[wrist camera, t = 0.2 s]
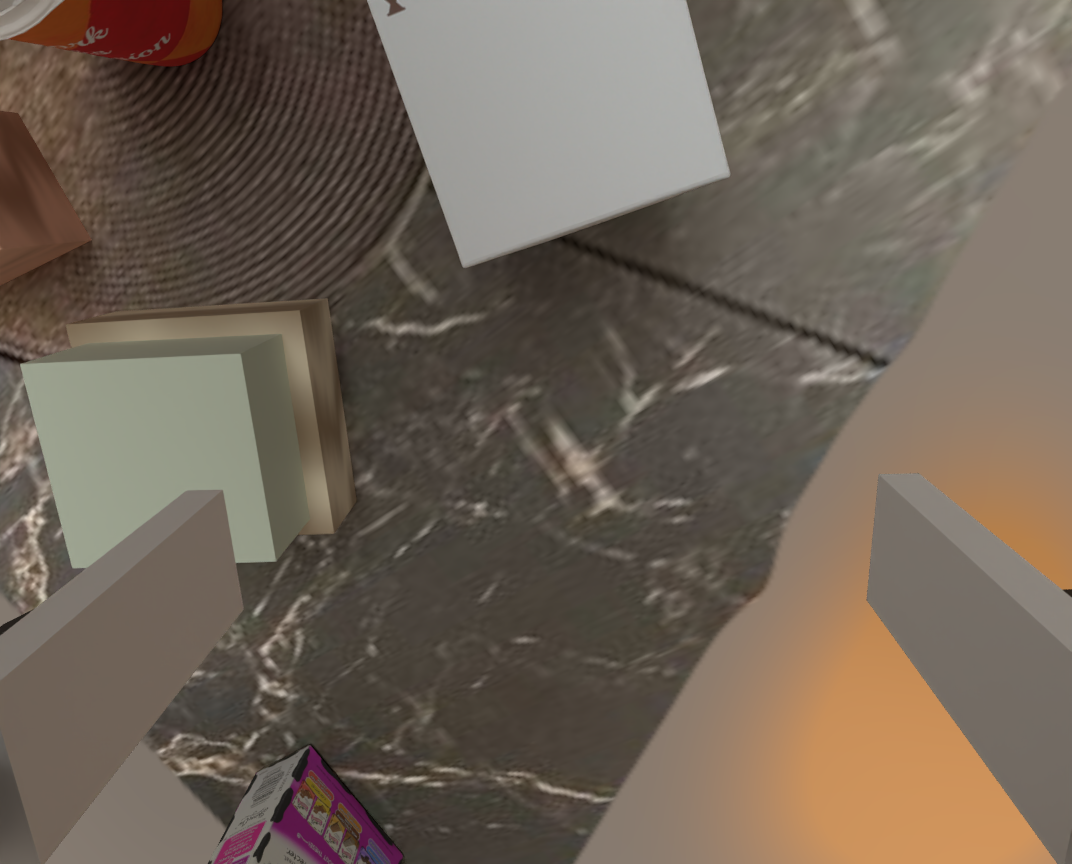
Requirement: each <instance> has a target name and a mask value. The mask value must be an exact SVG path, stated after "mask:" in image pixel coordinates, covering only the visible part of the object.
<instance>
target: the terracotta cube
mask: <svg viewBox="0 0 1072 864" xmlns="http://www.w3.org/2000/svg"><path fill="white" fill-rule="evenodd" d="M89 241H91V238H90V236H89V235H88V233H87V231H86V229H85V228H84V226H83V224H82V222H81V221H80V219H79V217H78V216H77V214H76V212H75V210H74V209H73V207H72V205H71V204H70V202H69V200H68V198H67V197H66V195H65V193H64V192H63V190H62V188H61V186H60V185H59V183H58V181H57V179H56V178H55V176H54V174H53V173H52V171H51V169H50V167H49V166H48V164H47V162H46V161H45V159H44V157H43V155H42V154H41V152H40V150H39V149H38V147H37V145H36V143H35V142H34V140H33V138H32V137H31V135H30V133H29V131H28V130H27V128H26V126H25V124H24V123H23V121H22V119H21V118H20V116H19V114H18V113H11V112H4V111H0V286H1V285H3V284H5V283H7V282H9V281H11V280H13V279H15V278H17V277H19V276H21V275H23V274H25V273H27V272H29V271H31V270H33V269H35V268H37V267H39V266H41V265H43V264H45V263H47V262H49V261H51V260H53V259H55V258H57V257H59V256H61V255H63V254H65V253H67V252H69V251H71V250H73V249H75V248H77V247H79V246H81V245H83V244H85V243H87V242H89Z"/></svg>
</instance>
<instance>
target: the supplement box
mask: <svg viewBox="0 0 1072 864" xmlns="http://www.w3.org/2000/svg"><path fill="white" fill-rule="evenodd" d="M367 2H368V4H369V7H370V10H371V13H372V16H373V18H374V21H375V24H376V27H377V29H378V32H379V35H380V38H381V41H382V43H383V46H384V49H385V52H386V54H387V57H388V60H389V63H390V66H391V68H392V71H393V74H394V77H395V79H396V82H397V85H398V88H399V91H400V93H401V96H402V99H403V102H404V104H405V107H406V110H407V113H408V116H409V118H410V121H411V124H412V127H413V129H414V132H415V135H416V138H417V141H418V143H419V146H420V149H421V152H422V154H423V157H424V160H425V163H426V166H427V168H428V171H429V174H430V177H431V179H432V182H433V185H434V188H435V190H436V193H437V196H438V199H439V202H440V204H441V207H442V210H443V213H444V216H445V218H446V221H447V224H448V227H449V230H450V233H451V235H452V238H453V241H454V244H455V247H456V249H457V252H458V255H459V258H460V261H461V264H462V267H464V268H468V267H471V266H474V265H477V264H480V263H483V262H486V261H489V260H492V259H495V258H498V257H501V256H504V255H507V254H510V253H514V252H517V251H520V250H523V249H526V248H529V247H532V246H535V245H538V244H541V243H544V242H547V241H550V240H553V239H556V238H559V237H562V236H565V235H568V234H571V233H573V232H576V231H579V230H582V229H585V228H588V227H591V226H594V225H597V224H599V223H602V222H605V221H608V220H611V219H613V218H616V217H619V216H622V215H625V214H627V213H630V212H633V211H636V210H639V209H642V208H644V207H647V206H650V205H653V204H656V203H658V202H661V201H664V200H667V199H670V198H672V197H675V196H678V195H681V194H683V193H686V192H689V191H691V190H694V189H697V188H700V187H702V186H705V185H708V184H711V183H714V182H717V181H720V180H723V179H726V178H729V177H730V175H731V174H730V170H729V167H728V163H727V159H726V155H725V151H724V147H723V143H722V140H721V136H720V132H719V128H718V124H717V120H716V116H715V112H714V108H713V104H712V101H711V97H710V93H709V89H708V85H707V81H706V77H705V73H704V70H703V66H702V62H701V58H700V54H699V50H698V46H697V42H696V38H695V34H694V30H693V26H692V22H691V18H690V14H689V10H688V6H687V2H686V0H367Z"/></svg>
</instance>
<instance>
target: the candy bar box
mask: <svg viewBox="0 0 1072 864" xmlns="http://www.w3.org/2000/svg"><path fill="white" fill-rule="evenodd" d="M402 858H403V855H402V854H401V852H400V851H399V849H398V848H397V847H396V846H395V845H394V843H393V842H392V841H391V840H390V839H389V837H388V836H387V835H386V834H385V833H384V832H383V830H382V829H381V828H380V827H379V826H378V825H377V823H376V822H375V821H374V820H373V819H372V817H371V816H370V815H369V814H368V813H367V812H366V810H365V809H364V808H363V807H362V806H361V805H360V804H359V802H358V801H357V800H356V799H355V798H354V797H353V795H352V794H351V793H350V792H349V791H348V789H347V788H346V787H345V786H344V785H343V784H342V782H341V781H340V780H339V779H338V778H337V776H336V775H335V774H334V773H333V772H332V770H331V769H330V768H329V767H328V766H327V764H326V763H325V762H324V761H323V760H322V759H321V757H320V756H319V755H318V754H317V752H316V751H315V750H314V749H313V748H312V747H311V745H308V746H306V747H304V748H302V749H300V750H298V751H296V752H294V753H293V754H291V755H289V756H287V757H285V758H283V759H281V760H279V761H277V762H275V763H272V764H270V765H268V766H266V767H265V768H263V769H261V770H259V771H258V772H257V773H256V774H255V776H254V778H253V780H252V781H251V783H250V785H249V787H248V789H247V791H246V793H245V795H244V797H243V799H242V801H241V802H240V804H239V806H238V808H237V810H236V812H235V814H234V816H233V817H232V819H231V821H230V823H229V825H228V827H227V829H226V831H225V833H224V834H223V836H222V838H221V840H220V842H219V844H218V846H217V848H216V850H215V851H214V853H213V855H212V857H211V859H210V860H209V862H208V864H401V862H402Z"/></svg>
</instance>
